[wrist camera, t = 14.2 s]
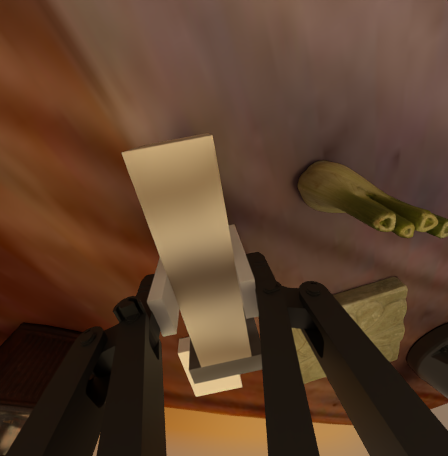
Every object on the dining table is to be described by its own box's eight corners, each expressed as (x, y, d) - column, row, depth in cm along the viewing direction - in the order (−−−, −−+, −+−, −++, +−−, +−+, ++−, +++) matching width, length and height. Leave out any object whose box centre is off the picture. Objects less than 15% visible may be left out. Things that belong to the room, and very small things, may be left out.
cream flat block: (230, 326, 32) (239, 370, 38) (179, 336, 32) (196, 379, 37) (232, 342, 30) (242, 387, 35) (177, 353, 30) (196, 396, 35)
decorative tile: (265, 311, 32) (272, 332, 29) (393, 272, 31) (415, 289, 28) (284, 375, 40) (292, 396, 37) (386, 346, 39) (402, 365, 36)
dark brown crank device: (94, 378, 34) (-3, 608, 18) (14, 367, 31) (-191, 633, 15) (117, 313, 28) (9, 561, 12) (23, 292, 25) (-289, 585, 9)
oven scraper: (252, 318, 22) (266, 368, 17) (195, 330, 21) (194, 384, 17) (222, 130, 13) (234, 131, 9) (131, 147, 13) (98, 156, 9)
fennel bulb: (349, 179, 23) (477, 224, 12) (317, 213, 25) (408, 279, 14) (314, 147, 21) (431, 168, 11) (283, 186, 23) (357, 239, 12)
